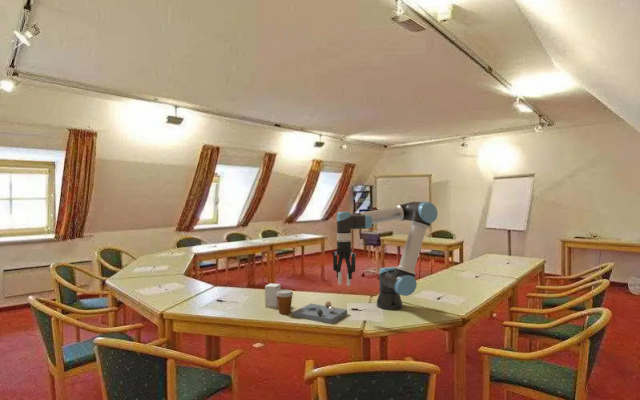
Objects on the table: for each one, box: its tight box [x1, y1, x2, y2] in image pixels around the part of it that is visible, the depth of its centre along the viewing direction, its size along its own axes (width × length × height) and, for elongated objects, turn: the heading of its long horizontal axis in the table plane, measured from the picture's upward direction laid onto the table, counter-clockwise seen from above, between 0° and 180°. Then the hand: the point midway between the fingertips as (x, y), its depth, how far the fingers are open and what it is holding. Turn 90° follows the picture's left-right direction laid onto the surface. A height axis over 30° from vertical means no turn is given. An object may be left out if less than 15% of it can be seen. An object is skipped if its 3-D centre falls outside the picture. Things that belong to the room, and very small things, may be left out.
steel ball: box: [328, 305, 335, 313], centre depth 197 cm, size 4×4×4 cm
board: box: [292, 303, 348, 325], centre depth 200 cm, size 24×18×2 cm
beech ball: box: [324, 300, 332, 308], centre depth 206 cm, size 4×4×4 cm
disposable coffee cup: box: [276, 289, 294, 315], centre depth 206 cm, size 10×10×12 cm
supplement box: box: [264, 282, 282, 309], centre depth 219 cm, size 7×7×13 cm
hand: (344, 284), depth 193 cm, fingers open, 4 cm apart
